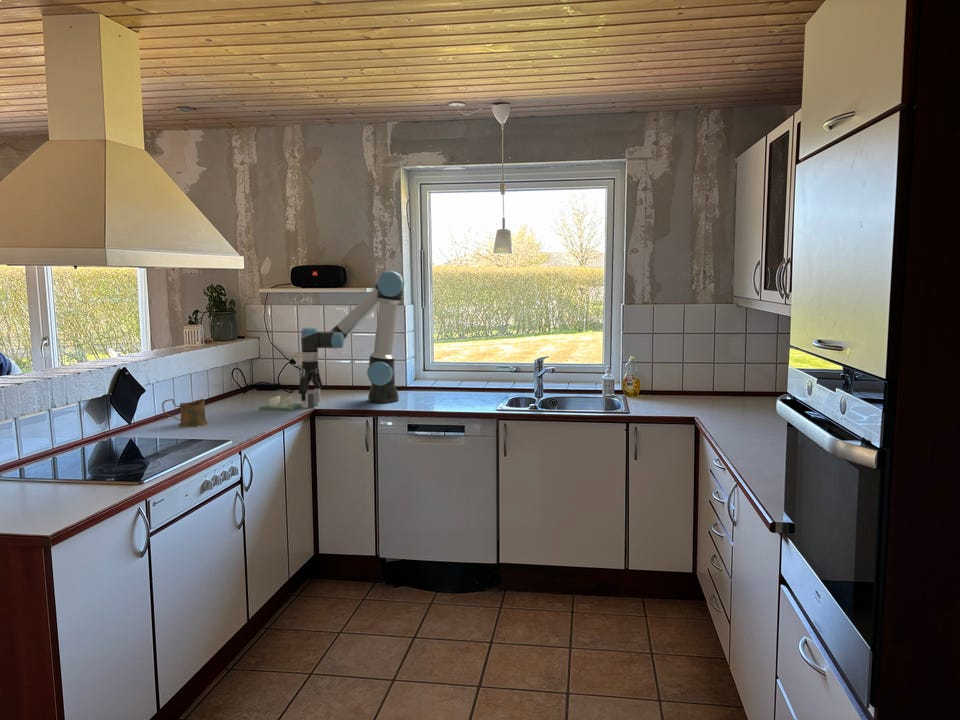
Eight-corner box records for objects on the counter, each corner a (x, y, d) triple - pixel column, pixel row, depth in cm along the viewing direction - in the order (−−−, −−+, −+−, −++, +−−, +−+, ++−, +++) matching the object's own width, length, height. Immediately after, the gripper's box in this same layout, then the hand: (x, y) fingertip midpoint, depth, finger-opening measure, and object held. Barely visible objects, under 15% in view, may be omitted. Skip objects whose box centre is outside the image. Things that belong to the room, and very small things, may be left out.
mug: (160, 426, 302) (159, 398, 300) (203, 420, 312) (202, 393, 311) (167, 431, 293) (165, 402, 291) (211, 425, 303) (209, 397, 301)
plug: (317, 406, 342) (317, 392, 341) (314, 408, 338) (313, 393, 337) (309, 406, 343) (309, 391, 342) (305, 407, 339) (305, 393, 338)
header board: (302, 405, 343) (301, 396, 343) (290, 410, 332) (289, 400, 331) (272, 404, 347) (271, 395, 346) (259, 409, 335) (258, 399, 335)
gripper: (314, 357, 350) (315, 399, 353) (290, 363, 326) (291, 409, 329) (328, 357, 349) (329, 400, 351) (305, 364, 324) (306, 410, 327)
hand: (311, 404), depth 340 cm, fingers open, 13 cm apart
